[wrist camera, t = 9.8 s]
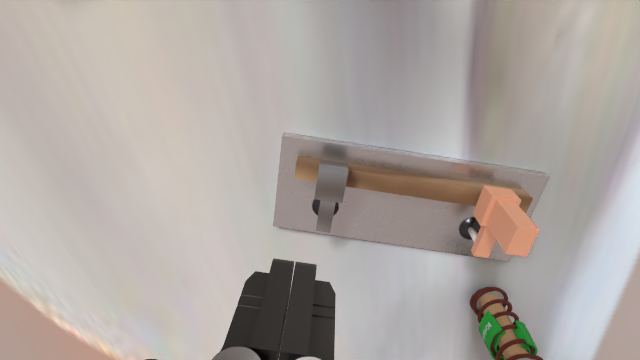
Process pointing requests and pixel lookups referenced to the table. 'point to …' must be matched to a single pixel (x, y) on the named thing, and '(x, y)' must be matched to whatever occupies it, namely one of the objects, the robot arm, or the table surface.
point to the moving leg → (501, 224)
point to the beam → (384, 185)
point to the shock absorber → (502, 327)
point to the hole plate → (393, 197)
